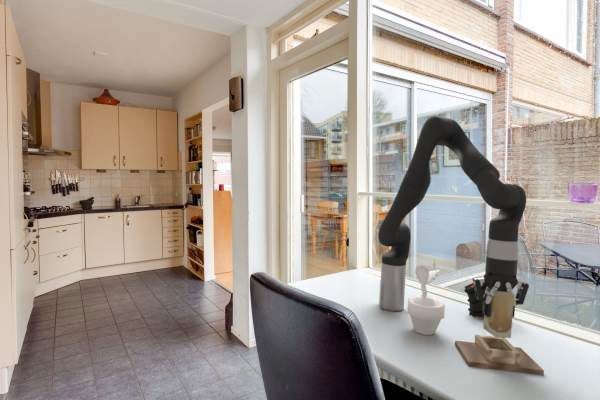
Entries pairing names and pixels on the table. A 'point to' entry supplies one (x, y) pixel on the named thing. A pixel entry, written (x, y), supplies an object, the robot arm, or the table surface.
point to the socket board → (497, 355)
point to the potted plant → (425, 304)
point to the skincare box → (500, 315)
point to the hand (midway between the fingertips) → (497, 316)
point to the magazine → (475, 300)
